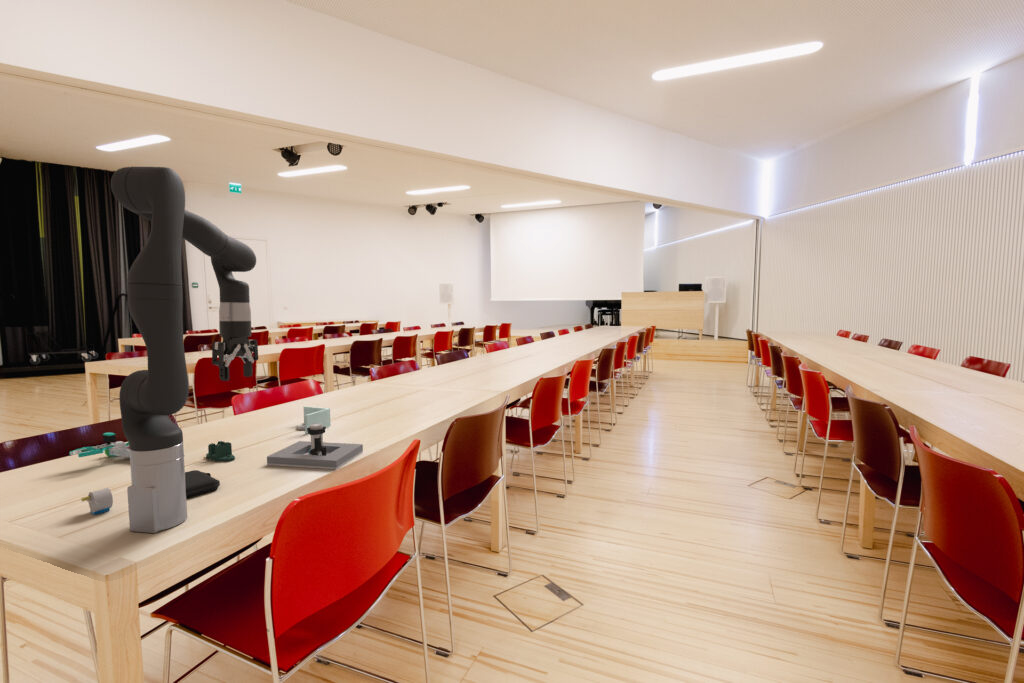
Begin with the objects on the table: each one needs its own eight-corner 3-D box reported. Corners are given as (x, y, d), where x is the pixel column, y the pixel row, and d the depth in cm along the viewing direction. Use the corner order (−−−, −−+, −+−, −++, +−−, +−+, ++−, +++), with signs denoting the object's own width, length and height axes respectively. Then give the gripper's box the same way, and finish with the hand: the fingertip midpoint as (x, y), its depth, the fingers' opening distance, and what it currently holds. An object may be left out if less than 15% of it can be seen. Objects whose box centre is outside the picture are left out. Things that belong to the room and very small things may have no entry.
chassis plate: (336, 469, 136) (336, 460, 136) (267, 464, 140) (266, 456, 140) (362, 452, 152) (362, 444, 152) (299, 448, 156) (299, 441, 155)
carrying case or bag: (227, 489, 123) (203, 476, 131) (227, 477, 122) (203, 466, 131) (179, 503, 114) (157, 488, 123) (179, 490, 114) (157, 477, 123)
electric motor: (78, 512, 108) (76, 491, 108) (104, 505, 112) (103, 484, 112) (88, 520, 104) (86, 498, 104) (115, 512, 108) (114, 491, 108)
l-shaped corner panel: (305, 424, 188) (305, 406, 187) (330, 427, 184) (329, 408, 183) (281, 432, 177) (281, 412, 176) (307, 435, 173) (307, 415, 172)
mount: (239, 459, 146) (238, 443, 145) (225, 463, 141) (225, 447, 141) (215, 454, 150) (214, 439, 149) (201, 459, 146) (200, 443, 145)
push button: (311, 462, 141) (310, 428, 140) (300, 458, 144) (299, 426, 143) (330, 456, 146) (329, 424, 146) (319, 453, 149) (318, 421, 148)
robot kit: (56, 470, 136) (54, 438, 135) (148, 446, 159) (146, 418, 158) (100, 478, 130) (98, 445, 129) (188, 451, 153) (187, 423, 152)
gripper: (227, 320, 122) (229, 382, 123) (265, 319, 136) (266, 375, 137) (202, 319, 123) (203, 381, 124) (242, 319, 137) (243, 375, 138)
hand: (236, 378), depth 131 cm, fingers open, 8 cm apart
